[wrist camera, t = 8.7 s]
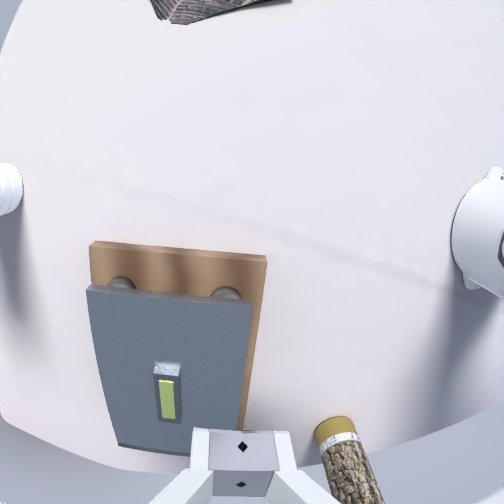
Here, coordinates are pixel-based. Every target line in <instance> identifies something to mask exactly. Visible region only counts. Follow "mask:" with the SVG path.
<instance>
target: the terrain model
mask: <svg viewBox="0 0 504 504" xmlns="http://www.w3.org/2000/svg"><path fill="white" fill-rule="evenodd" d="M267 1H272V0H151V2H152V5H153V7H154V10H155V12H156V15H157V18H158V19H160V20H163V19H165V20H167V19H169V21H172V22H171V23H172V24H181V25H187V24H190V23H193V22H196V21H199V20H202V19H205V18H208V17H211V16H214V15H217V14H221V13H224V12H227V11H231V10H235V9H238V8H242V7H246V6H250V5H254V4H259V3H263V2H267Z"/></svg>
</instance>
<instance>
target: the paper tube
mask: <svg viewBox="0 0 504 504" xmlns="http://www.w3.org/2000/svg"><path fill="white" fill-rule="evenodd" d="M315 436H316V439H317V443H318V447H319V451H320V454H321V458H322V462H323V465H324V469H325V472H326V476H327V480H328V483H329V487H330V490H331V494H332V497H334V498H335V499H336V500H337V501H339V502H340V503H341V504H385V503H384V500H383V497H382V495H381V492H380V490H379V487H378V484H377V482H376V479H375V477H374V474H373V472H372V469H371V466H370V464H369V462H368V459H367V456H366V454H365V451H364V449H363V446H362V444H361V441H360V439H359V436H358V434H357V432H356V429H355V427H354V424H353V422H352V420H351V419H349V418H347V417H343V416H339V417H333V418H330V419H328V420H326V421H324V422H323V423H321V424H320V425H319V426H318V428H317V430H316V432H315Z"/></svg>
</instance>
